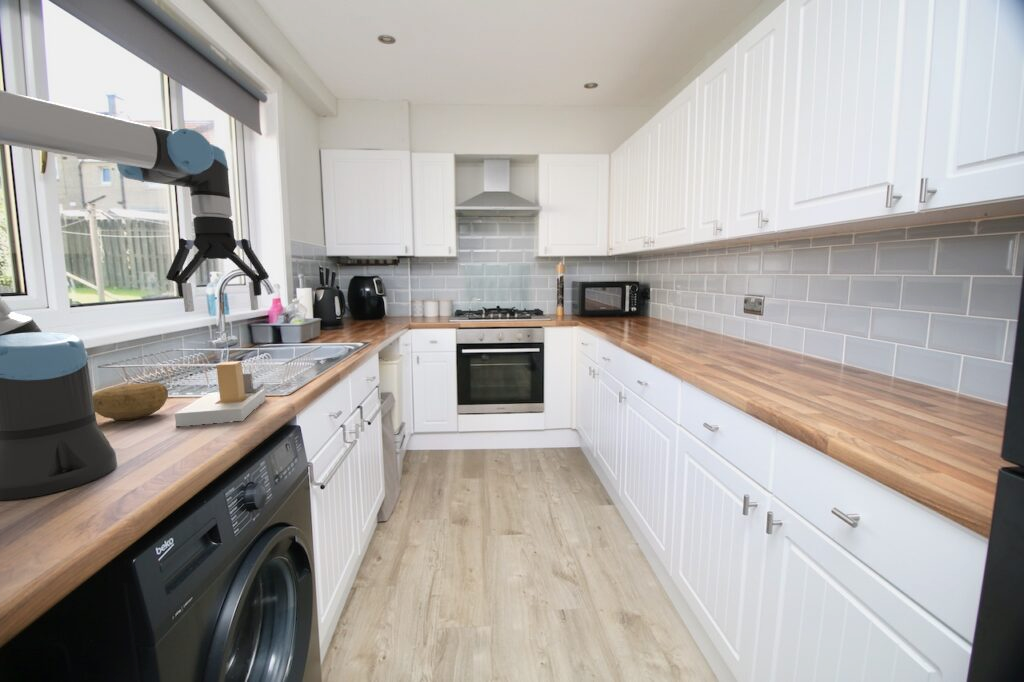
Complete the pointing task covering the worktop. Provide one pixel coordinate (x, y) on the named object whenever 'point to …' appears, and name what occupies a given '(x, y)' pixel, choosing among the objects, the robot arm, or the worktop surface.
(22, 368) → the robot arm
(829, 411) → the worktop surface
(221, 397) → the plug
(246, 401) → the socket board
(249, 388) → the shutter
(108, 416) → the potato
